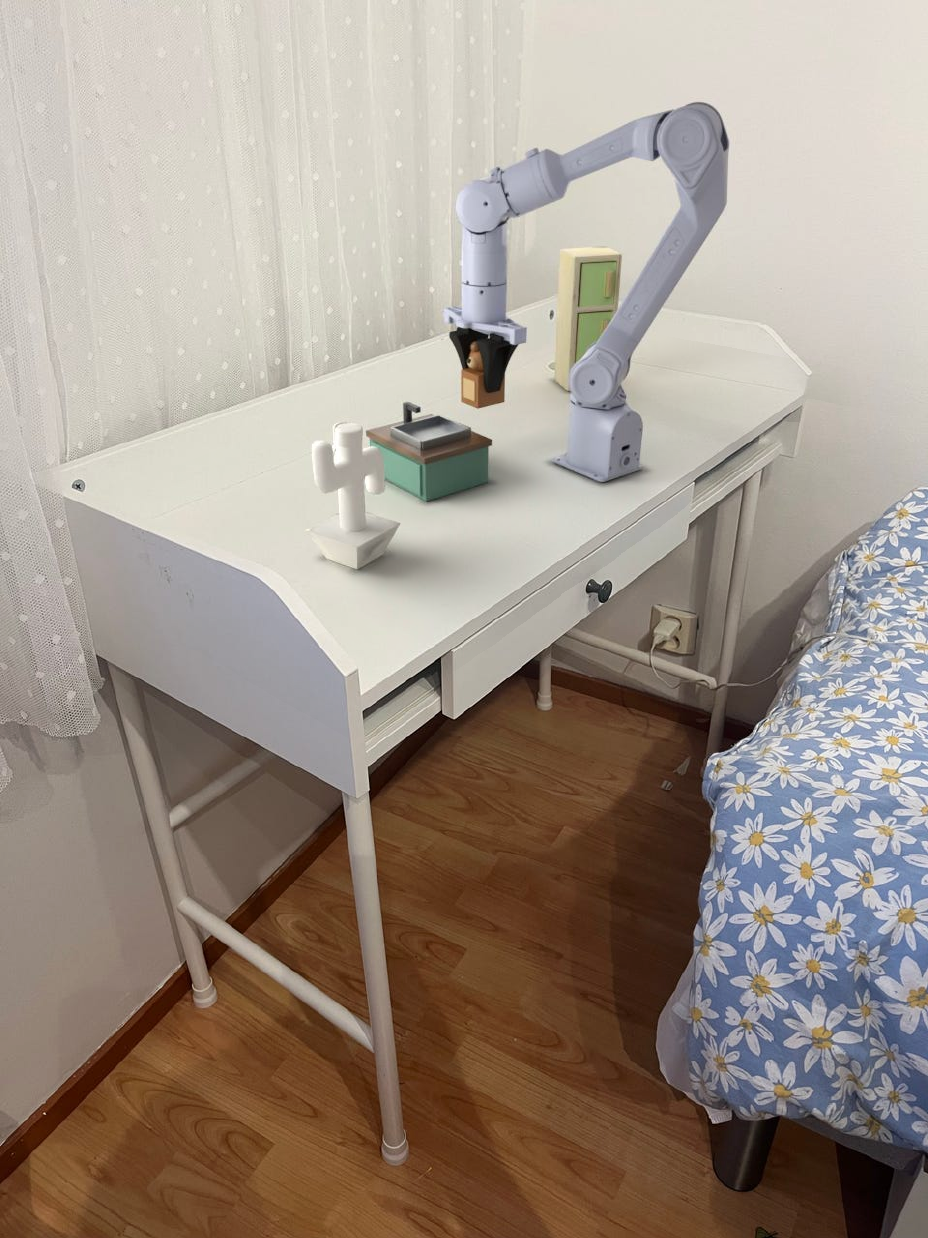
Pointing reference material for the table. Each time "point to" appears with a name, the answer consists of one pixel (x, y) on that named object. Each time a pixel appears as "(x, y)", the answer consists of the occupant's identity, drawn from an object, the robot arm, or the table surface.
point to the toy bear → (478, 383)
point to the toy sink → (431, 454)
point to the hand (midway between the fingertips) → (483, 387)
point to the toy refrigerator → (584, 303)
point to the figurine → (350, 498)
